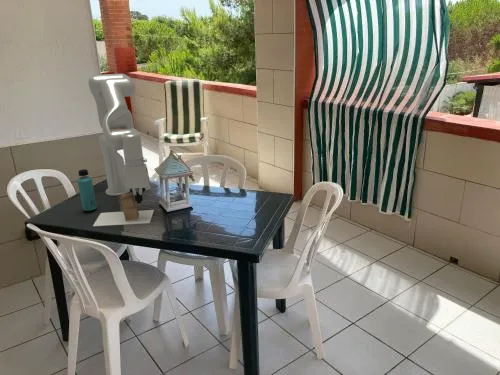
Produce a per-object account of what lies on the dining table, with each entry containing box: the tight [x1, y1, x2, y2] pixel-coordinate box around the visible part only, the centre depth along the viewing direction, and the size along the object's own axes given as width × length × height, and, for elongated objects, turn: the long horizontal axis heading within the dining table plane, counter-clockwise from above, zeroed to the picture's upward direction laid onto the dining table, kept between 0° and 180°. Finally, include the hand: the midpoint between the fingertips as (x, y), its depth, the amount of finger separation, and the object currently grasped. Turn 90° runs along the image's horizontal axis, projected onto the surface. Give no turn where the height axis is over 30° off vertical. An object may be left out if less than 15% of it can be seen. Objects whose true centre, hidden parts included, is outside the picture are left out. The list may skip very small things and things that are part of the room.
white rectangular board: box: [92, 209, 155, 227], centre depth 180 cm, size 14×24×1 cm, turn 95°
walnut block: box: [119, 192, 139, 222], centre depth 176 cm, size 5×5×11 cm
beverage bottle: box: [77, 168, 97, 212], centre depth 185 cm, size 6×7×20 cm
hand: (139, 202), depth 176 cm, fingers closed
